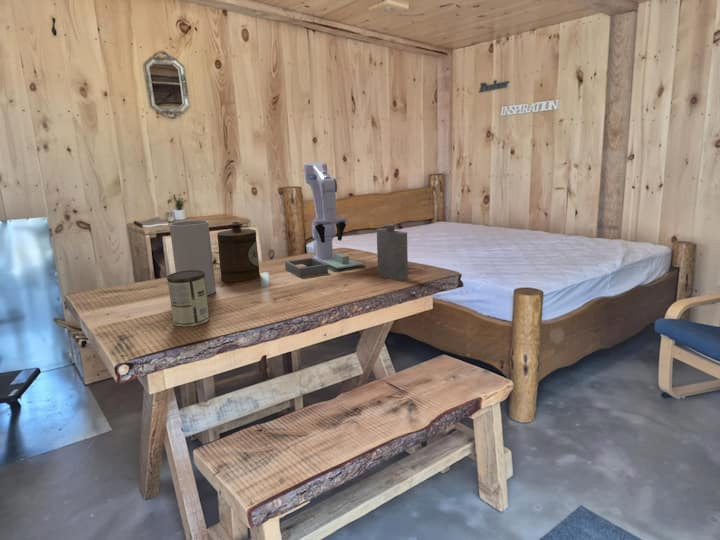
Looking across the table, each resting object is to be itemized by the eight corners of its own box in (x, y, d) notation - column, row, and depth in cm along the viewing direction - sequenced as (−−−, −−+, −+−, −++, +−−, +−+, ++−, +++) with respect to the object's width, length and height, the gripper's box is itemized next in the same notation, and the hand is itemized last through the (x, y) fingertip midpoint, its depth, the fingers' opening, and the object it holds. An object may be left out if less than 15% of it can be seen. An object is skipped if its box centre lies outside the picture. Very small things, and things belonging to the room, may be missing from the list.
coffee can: (179, 315, 146) (173, 270, 143) (213, 314, 147) (208, 269, 143) (167, 327, 136) (161, 279, 133) (204, 326, 137) (198, 278, 133)
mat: (318, 264, 207) (318, 263, 207) (348, 260, 213) (348, 259, 213) (335, 271, 193) (335, 270, 193) (365, 266, 199) (365, 266, 199)
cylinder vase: (222, 289, 174) (215, 220, 168) (203, 299, 162) (194, 225, 156) (192, 288, 177) (184, 220, 171) (171, 298, 166) (161, 225, 160)
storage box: (285, 269, 200) (285, 261, 199) (312, 265, 205) (311, 257, 204) (300, 277, 186) (299, 268, 185) (328, 273, 192) (327, 264, 191)
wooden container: (263, 279, 186) (258, 222, 181) (223, 284, 181) (217, 226, 176) (256, 271, 200) (251, 218, 194) (219, 275, 194) (213, 221, 189)
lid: (320, 263, 207) (320, 253, 206) (345, 259, 213) (345, 250, 212) (337, 270, 194) (336, 260, 193) (363, 266, 199) (362, 256, 198)
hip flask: (409, 279, 177) (408, 225, 172) (401, 281, 175) (400, 227, 170) (382, 272, 190) (381, 221, 185) (374, 274, 187) (372, 222, 183)
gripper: (317, 210, 192) (319, 244, 195) (349, 207, 198) (351, 240, 201) (310, 209, 198) (312, 242, 201) (342, 206, 204) (343, 238, 207)
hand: (331, 241), depth 201 cm, fingers open, 7 cm apart
